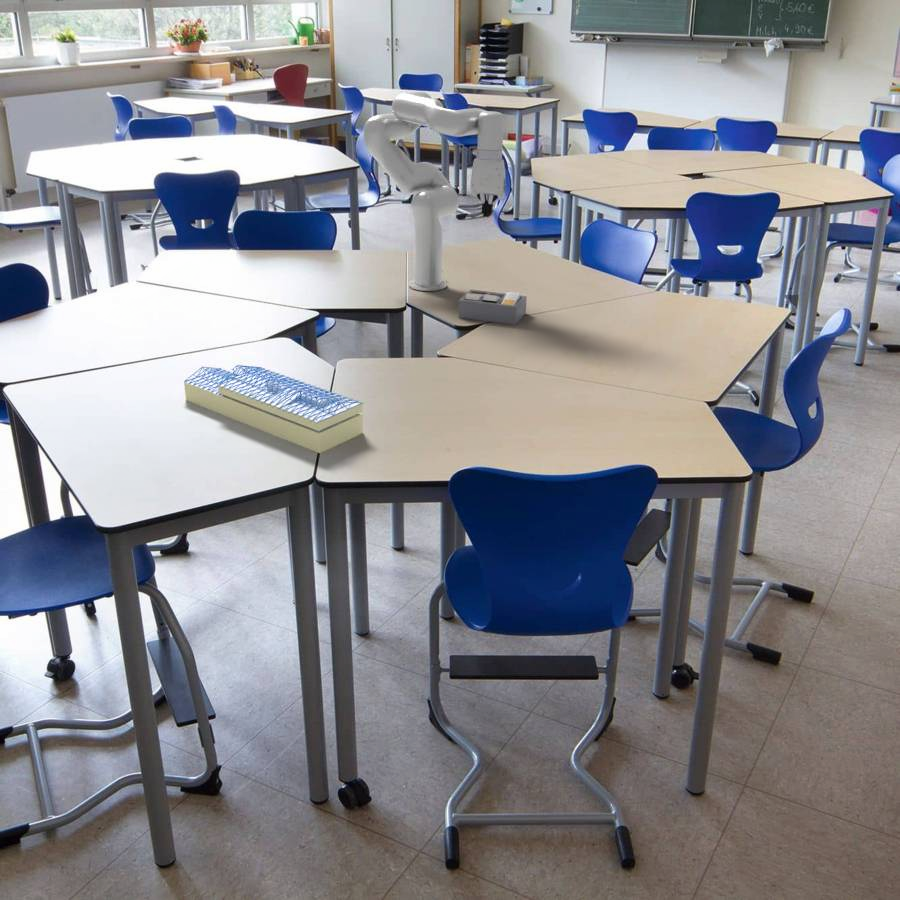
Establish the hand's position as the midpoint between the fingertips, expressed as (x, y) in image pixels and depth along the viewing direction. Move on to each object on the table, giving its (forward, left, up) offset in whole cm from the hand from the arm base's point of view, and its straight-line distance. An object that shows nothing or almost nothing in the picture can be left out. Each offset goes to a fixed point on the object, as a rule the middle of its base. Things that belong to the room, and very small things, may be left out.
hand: (486, 215), depth 303 cm
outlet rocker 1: (+14, +2, -22) cm, 26 cm away
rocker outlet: (+14, +13, -22) cm, 29 cm away
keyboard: (+107, -20, -28) cm, 112 cm away
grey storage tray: (+14, +7, -27) cm, 31 cm away
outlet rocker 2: (+14, +7, -22) cm, 27 cm away
